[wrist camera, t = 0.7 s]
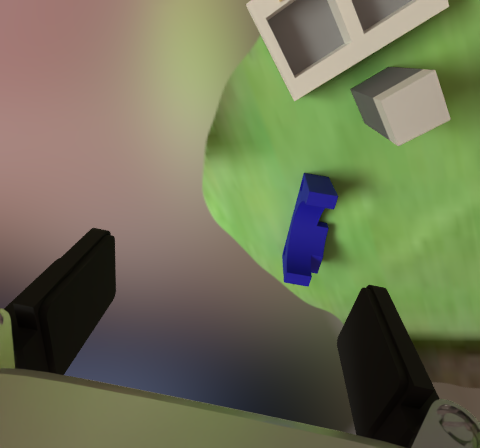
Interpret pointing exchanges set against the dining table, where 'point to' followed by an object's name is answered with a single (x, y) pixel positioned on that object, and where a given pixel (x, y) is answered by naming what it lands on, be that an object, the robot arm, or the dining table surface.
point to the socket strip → (332, 33)
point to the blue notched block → (307, 229)
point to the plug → (401, 103)
